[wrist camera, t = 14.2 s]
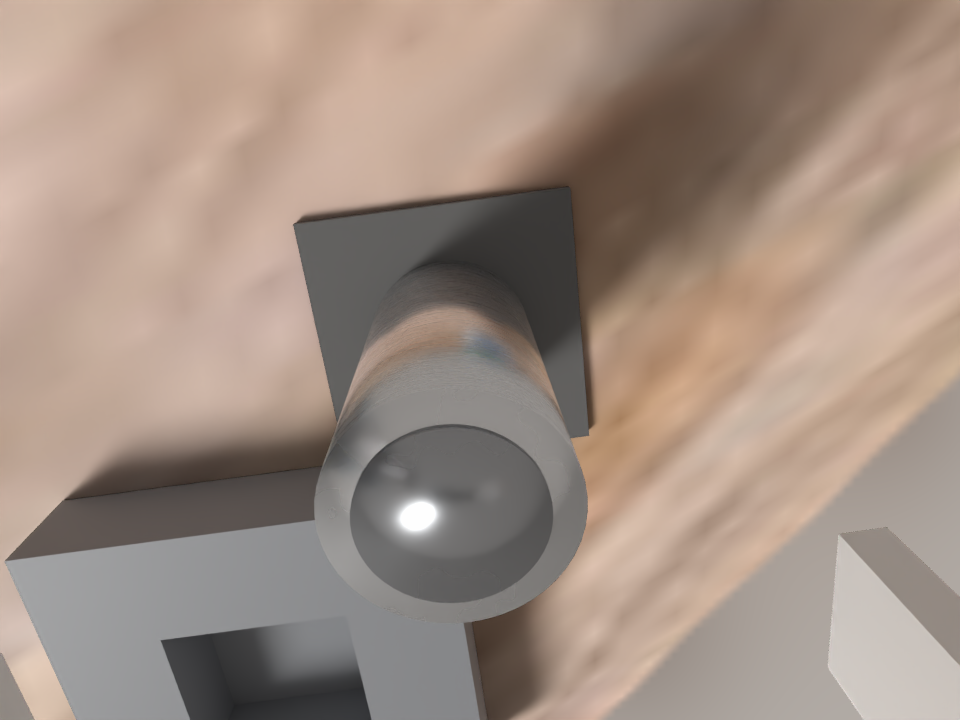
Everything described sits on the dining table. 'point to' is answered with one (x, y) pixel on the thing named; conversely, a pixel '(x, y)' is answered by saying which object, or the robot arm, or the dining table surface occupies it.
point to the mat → (451, 237)
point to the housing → (227, 613)
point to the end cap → (450, 456)
